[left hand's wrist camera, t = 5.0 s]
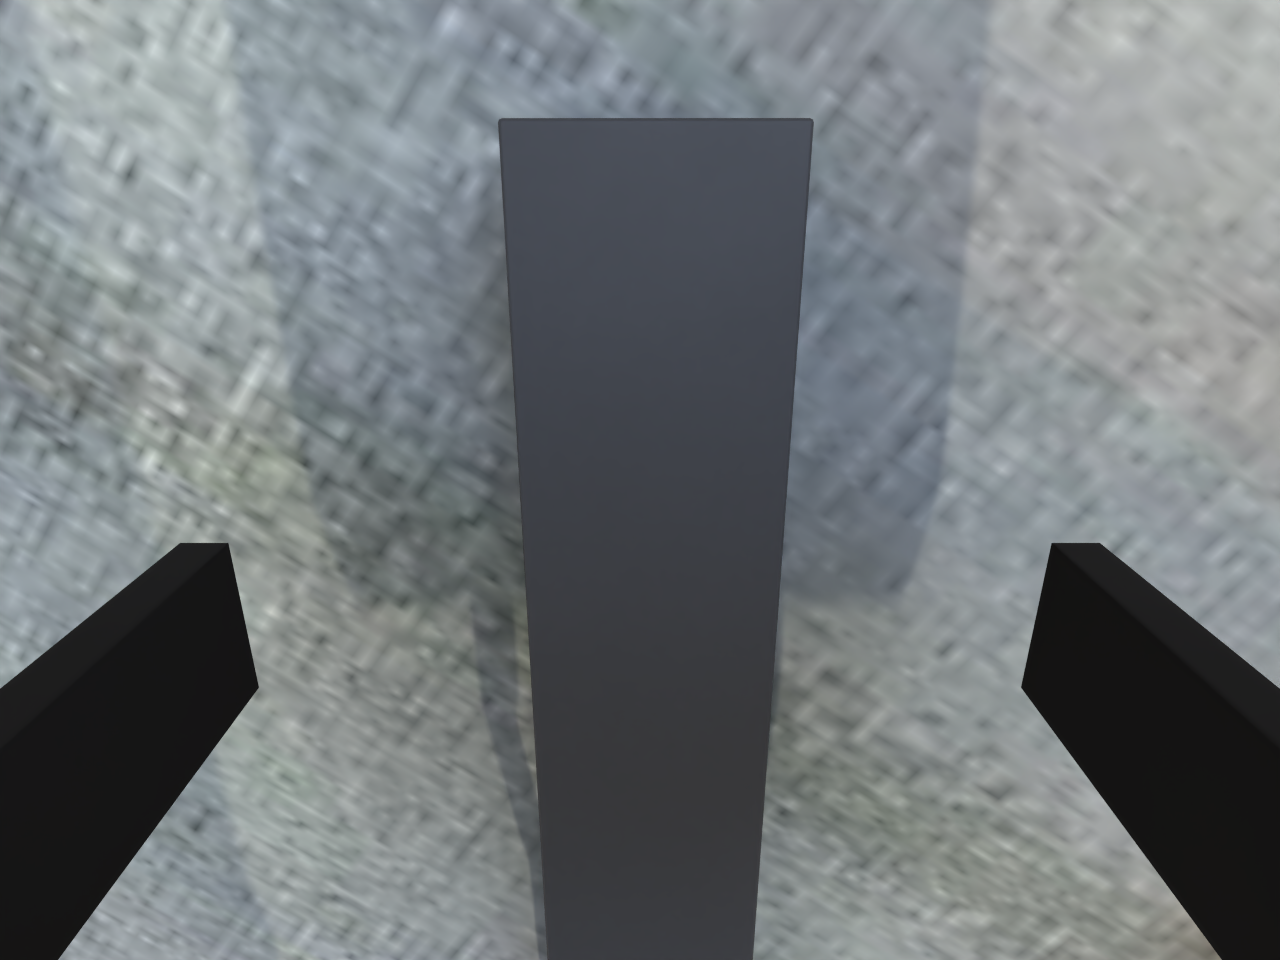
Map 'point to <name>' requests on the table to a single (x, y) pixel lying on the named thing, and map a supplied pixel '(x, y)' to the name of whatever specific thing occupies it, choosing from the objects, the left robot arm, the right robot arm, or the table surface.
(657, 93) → the table surface
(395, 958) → the table surface
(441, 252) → the table surface
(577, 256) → the beam
